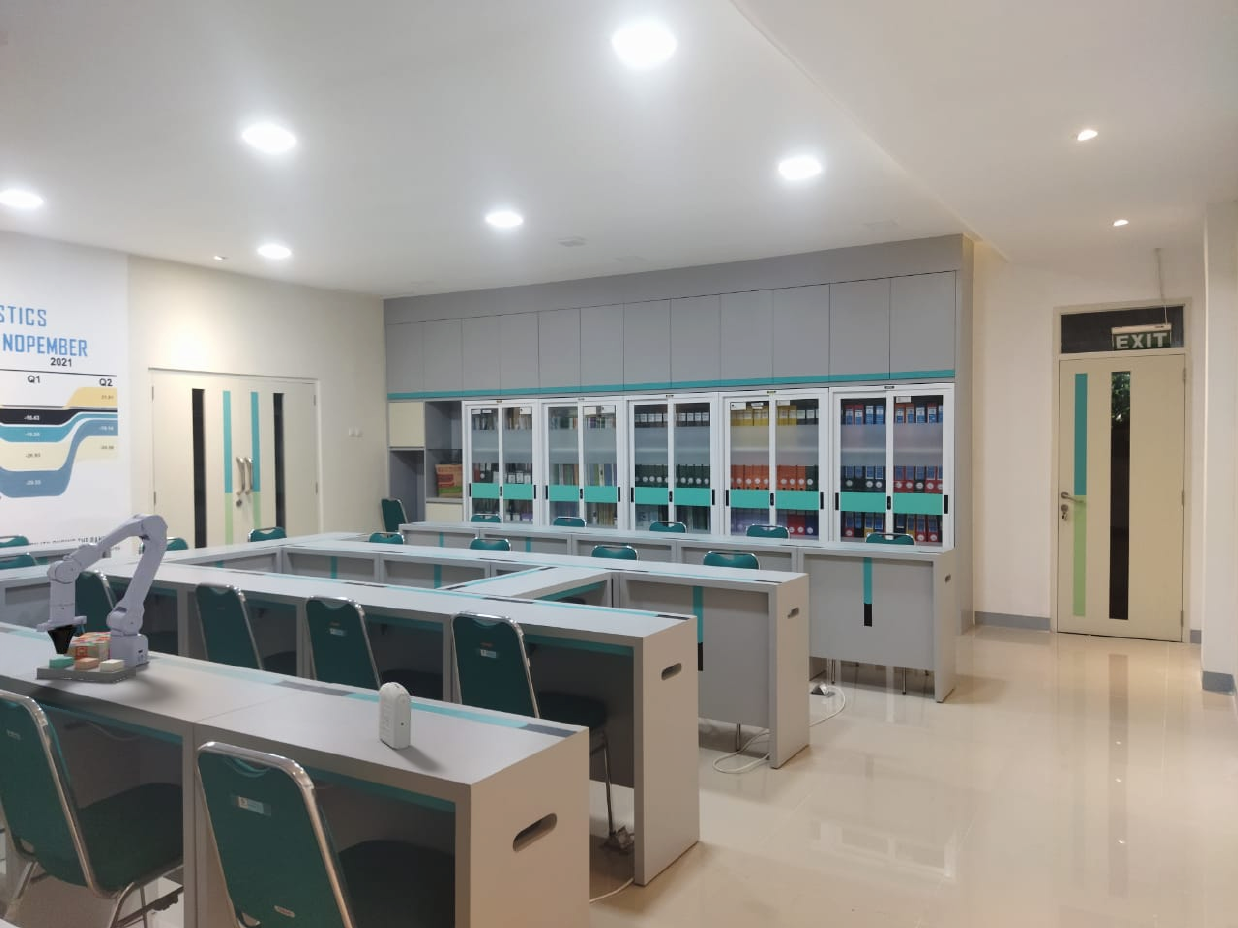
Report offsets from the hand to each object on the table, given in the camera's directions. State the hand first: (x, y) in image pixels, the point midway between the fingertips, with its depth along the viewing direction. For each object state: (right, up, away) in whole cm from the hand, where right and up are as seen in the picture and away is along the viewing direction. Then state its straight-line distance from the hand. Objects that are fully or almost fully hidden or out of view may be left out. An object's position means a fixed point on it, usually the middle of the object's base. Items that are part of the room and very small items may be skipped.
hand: (61, 653), depth 232 cm
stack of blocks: (-8, -3, +18) cm, 19 cm away
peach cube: (+8, -6, -2) cm, 10 cm away
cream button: (+16, -6, -3) cm, 17 cm away
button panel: (+8, -6, -2) cm, 10 cm away
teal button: (0, -6, 0) cm, 6 cm away
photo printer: (+107, -7, -55) cm, 120 cm away
